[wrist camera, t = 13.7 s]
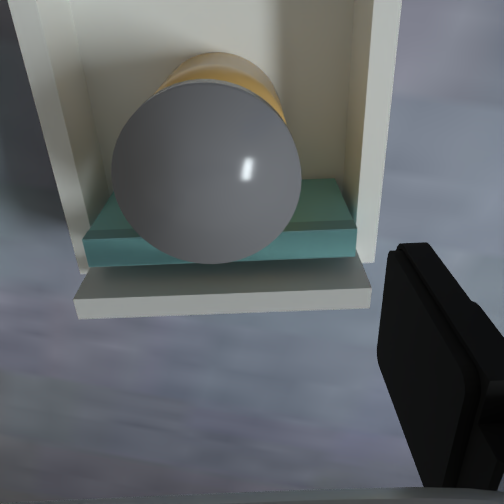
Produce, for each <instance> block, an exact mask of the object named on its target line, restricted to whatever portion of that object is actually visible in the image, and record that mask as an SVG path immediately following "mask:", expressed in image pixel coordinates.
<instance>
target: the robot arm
mask: <svg viewBox="0 0 504 504" xmlns="http://www.w3.org/2000/svg"><path fill="white" fill-rule="evenodd" d="M377 359H378V364H379V367H380V370H381V373H382V375H383V378H384V381H385V383H386V386H387V389H388V392H389V394H390V397H391V400H392V402H393V405H394V408H395V410H396V413H397V416H398V419H399V421H400V424H401V427H402V429H403V432H404V435H405V438H406V440H407V443H408V446H409V448H410V451H411V454H412V456H413V459H414V462H415V465H416V467H417V470H418V473H419V475H420V478H421V481H422V483H423V486H424V487H397V488H356V489H315V490H289V491H265V492H240V493H216V494H192V495H167V496H144V497H122V498H100V499H78V500H57V501H36V502H15V503H0V504H504V337H503V336H502V335H501V333H500V332H499V331H498V329H497V328H496V327H495V326H494V324H493V323H492V322H491V320H490V319H489V318H488V316H487V315H486V314H485V312H484V311H483V310H482V308H481V307H480V306H479V305H478V304H477V303H476V302H473V301H471V300H470V299H469V297H468V296H467V294H466V293H465V292H464V290H463V289H462V288H461V286H460V285H459V284H458V282H457V281H456V280H455V278H454V277H453V276H452V274H451V273H450V272H449V270H448V269H447V268H446V266H445V265H444V264H443V262H442V261H441V259H440V258H439V257H438V255H437V254H436V253H435V251H434V250H433V249H432V247H431V246H430V245H429V244H428V243H425V242H424V243H403V244H399V245H398V246H397V249H396V251H390V252H389V254H388V258H387V266H386V275H385V283H384V292H383V301H382V309H381V318H380V327H379V335H378V344H377Z"/></svg>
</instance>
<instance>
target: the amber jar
mask: <svg viewBox="0 0 504 504" xmlns="http://www.w3.org/2000/svg"><path fill="white" fill-rule="evenodd" d="M111 178H112V185H113V190H114V194H115V197H116V200H117V203H118V205H119V207H120V210H121V211H122V213H123V215H124V217H125V218H126V220H127V221H128V223H129V224H130V225H131V226H132V228H133V229H134V230H135V231H136V232H137V233H138V234H139V235H140V236H141V237H142V238H143V239H144V240H145V241H147V242H148V243H149V244H150V245H152V246H153V247H155V248H157V249H158V250H160V251H161V252H164V253H166V254H168V255H170V256H172V257H175V258H178V259H180V260H184V261H188V262H193V263H201V264H220V263H228V262H233V261H237V260H240V259H243V258H246V257H248V256H251V255H253V254H255V253H257V252H259V251H260V250H262V249H263V248H265V247H266V246H268V245H269V244H270V243H271V242H272V241H274V240H275V239H276V238H277V237H278V236H279V235H280V234H281V233H282V231H283V230H284V229H285V227H286V226H287V225H288V223H289V222H290V220H291V218H292V216H293V214H294V212H295V209H296V207H297V204H298V201H299V196H300V192H301V180H302V178H301V166H300V161H299V156H298V152H297V149H296V146H295V143H294V140H293V137H292V134H291V133H290V131H289V129H288V127H287V124H286V120H285V117H284V113H283V109H282V106H281V102H280V99H279V96H278V93H277V91H276V89H275V87H274V85H273V83H272V82H271V80H270V79H269V77H268V76H267V75H266V74H265V73H264V72H263V71H262V70H261V69H260V68H259V67H258V66H256V65H255V64H253V63H252V62H250V61H249V60H247V59H245V58H243V57H240V56H237V55H234V54H230V53H224V52H211V53H204V54H200V55H197V56H194V57H192V58H190V59H188V60H186V61H184V62H183V63H181V64H180V65H179V66H178V67H176V68H175V69H174V70H173V71H172V72H171V74H170V75H169V76H168V77H167V78H166V80H165V81H164V82H163V83H162V84H161V86H160V87H159V88H158V89H157V91H156V92H155V93H154V94H153V95H152V96H151V97H150V98H148V99H147V100H146V101H145V102H144V103H143V104H142V105H141V106H140V107H139V108H138V109H137V110H136V111H135V113H134V114H133V115H132V116H131V117H130V118H129V120H128V121H127V123H126V124H125V126H124V127H123V129H122V130H121V133H120V135H119V137H118V139H117V141H116V144H115V148H114V151H113V156H112V163H111Z"/></svg>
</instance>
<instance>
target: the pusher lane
mask: <svg viewBox="0 0 504 504" xmlns="http://www.w3.org/2000/svg"><path fill="white" fill-rule="evenodd" d="M8 4H9V8H10V11H11V15H12V19H13V23H14V27H15V30H16V34H17V38H18V42H19V45H20V49H21V53H22V57H23V60H24V64H25V68H26V72H27V75H28V79H29V83H30V87H31V90H32V94H33V98H34V102H35V105H36V109H37V113H38V117H39V120H40V124H41V128H42V132H43V135H44V139H45V143H46V147H47V150H48V154H49V158H50V162H51V165H52V169H53V173H54V177H55V180H56V184H57V188H58V192H59V195H60V199H61V203H62V207H63V210H64V214H65V218H66V222H67V225H68V229H69V233H70V237H71V241H72V244H73V248H74V252H75V256H76V259H77V263H78V267H79V271H80V274H87V275H86V276H85V278H84V280H83V282H82V284H81V286H80V287H79V289H78V291H77V293H76V295H75V297H74V299H73V301H74V305H75V308H76V312H77V315H78V319H98V318H124V317H150V316H177V315H203V314H230V313H256V312H282V311H309V310H335V309H362V308H370V300H371V291H372V287H371V285H370V282H369V280H368V277H367V275H366V272H365V270H364V267H363V265H362V263H374V259H375V250H376V241H377V231H378V222H379V212H380V203H381V193H382V184H383V174H384V165H385V155H386V146H387V137H388V127H389V118H390V108H391V99H392V89H393V80H394V70H395V61H396V51H397V42H398V33H399V23H400V14H401V4H402V0H8ZM211 52H224V53H230V54H234V55H237V56H240V57H243V58H245V59H247V60H249V61H250V62H252V63H253V64H255V65H256V66H258V67H259V68H260V69H261V70H262V71H263V72H264V73H265V74H266V75H267V76H268V77H269V79H270V80H271V82H272V83H273V85H274V87H275V89H276V91H277V93H278V96H279V99H280V102H281V106H282V109H283V113H284V117H285V120H286V124H287V127H288V129H289V131H290V133H291V134H292V137H293V140H294V143H295V146H296V149H297V152H298V156H299V161H300V166H301V178H302V179H326V178H335V180H336V182H337V185H338V187H339V189H340V191H341V194H342V196H343V198H344V200H345V203H346V205H347V207H348V210H349V212H350V214H351V216H352V219H353V220H354V222H355V224H356V226H357V241H356V253H355V257H337V258H312V259H286V260H261V261H235V262H228V263H220V264H201V263H184V264H159V265H133V266H108V267H89V266H88V262H87V258H86V254H85V250H84V246H83V242H82V239H83V237H84V236H85V234H86V232H87V231H88V230H89V229H90V228H91V226H92V224H93V223H94V221H95V220H96V218H97V216H98V215H99V213H100V212H101V210H102V209H103V207H104V205H105V204H106V202H107V201H108V199H109V197H110V196H111V194H112V193H113V191H114V190H113V185H112V178H111V163H112V156H113V151H114V148H115V144H116V141H117V139H118V137H119V135H120V133H121V130H122V129H123V127H124V126H125V124H126V123H127V121H128V120H129V118H130V117H131V116H132V115H133V114H134V113H135V111H136V110H137V109H138V108H139V107H140V106H141V105H142V104H143V103H144V102H145V101H146V100H147V99H148V98H150V97H151V96H152V95H153V94H154V93H155V92H156V91H157V89H158V88H159V87H160V86H161V84H162V83H163V82H164V81H165V80H166V78H167V77H168V76H169V75H170V74H171V72H172V71H173V70H174V69H175V68H176V67H178V66H179V65H180V64H181V63H183V62H184V61H186V60H188V59H190V58H192V57H194V56H197V55H200V54H204V53H211Z"/></svg>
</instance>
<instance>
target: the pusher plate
mask: <svg viewBox="0 0 504 504" xmlns="http://www.w3.org/2000/svg"><path fill="white" fill-rule="evenodd" d="M356 241H357V226H356V224H355V222H354V220H353V219H352V216H351V214H350V212H349V210H348V207H347V205H346V203H345V200H344V198H343V196H342V194H341V191H340V189H339V187H338V185H337V182H336V180H335V178H326V179H302V180H301V192H300V196H299V201H298V204H297V207H296V209H295V212H294V214H293V216H292V218H291V220H290V222H289V223H288V225H287V226H286V227H285V229H284V230H283V231H282V233H281V234H280V235H279V236H278V237H277V238H276V239H275V240H274V241H272V242H271V243H270V244H269V245H268V246H266V247H265V248H263V249H262V250H260V251H259V252H257V253H255V254H253V255H251V256H248V257H246V258H243V259H240V260H237V261H261V260H286V259H312V258H337V257H355V253H356ZM82 242H83V246H84V250H85V254H86V258H87V262H88V266H89V267H108V266H133V265H159V264H184V263H193V262H188V261H184V260H180V259H178V258H175V257H172V256H170V255H168V254H166V253H164V252H161V251H160V250H158V249H157V248H155V247H153V246H152V245H150V244H149V243H148V242H147V241H145V240H144V239H143V238H142V237H141V236H140V235H139V234H138V233H137V232H136V231H135V230H134V229H133V228H132V226H131V225H130V224H129V223H128V221H127V220H126V218H125V217H124V215H123V213H122V211H121V210H120V207H119V205H118V203H117V200H116V197H115V194H114V191H113V193H112V194H111V196H110V197H109V199H108V201H107V202H106V204H105V205H104V207H103V209H102V210H101V212H100V213H99V215H98V216H97V218H96V220H95V221H94V223H93V224H92V226H91V228H90V229H89V230H88V231H87V232H86V234H85V236H84V237H83V239H82ZM233 262H235V261H233Z"/></svg>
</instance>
